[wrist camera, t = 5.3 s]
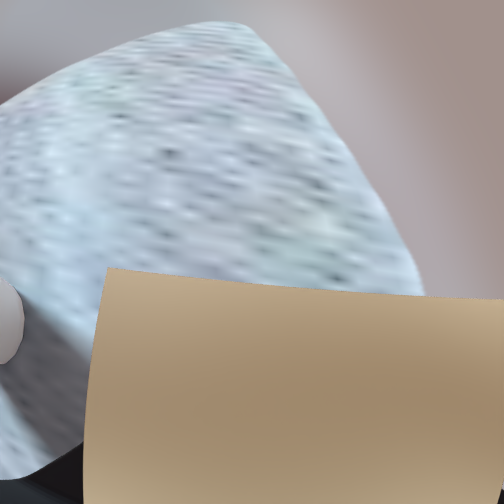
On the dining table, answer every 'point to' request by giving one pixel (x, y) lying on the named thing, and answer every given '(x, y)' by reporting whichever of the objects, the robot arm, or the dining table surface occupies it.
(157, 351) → the beech block
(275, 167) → the dining table surface
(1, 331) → the foam cup
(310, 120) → the dining table surface
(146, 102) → the dining table surface
